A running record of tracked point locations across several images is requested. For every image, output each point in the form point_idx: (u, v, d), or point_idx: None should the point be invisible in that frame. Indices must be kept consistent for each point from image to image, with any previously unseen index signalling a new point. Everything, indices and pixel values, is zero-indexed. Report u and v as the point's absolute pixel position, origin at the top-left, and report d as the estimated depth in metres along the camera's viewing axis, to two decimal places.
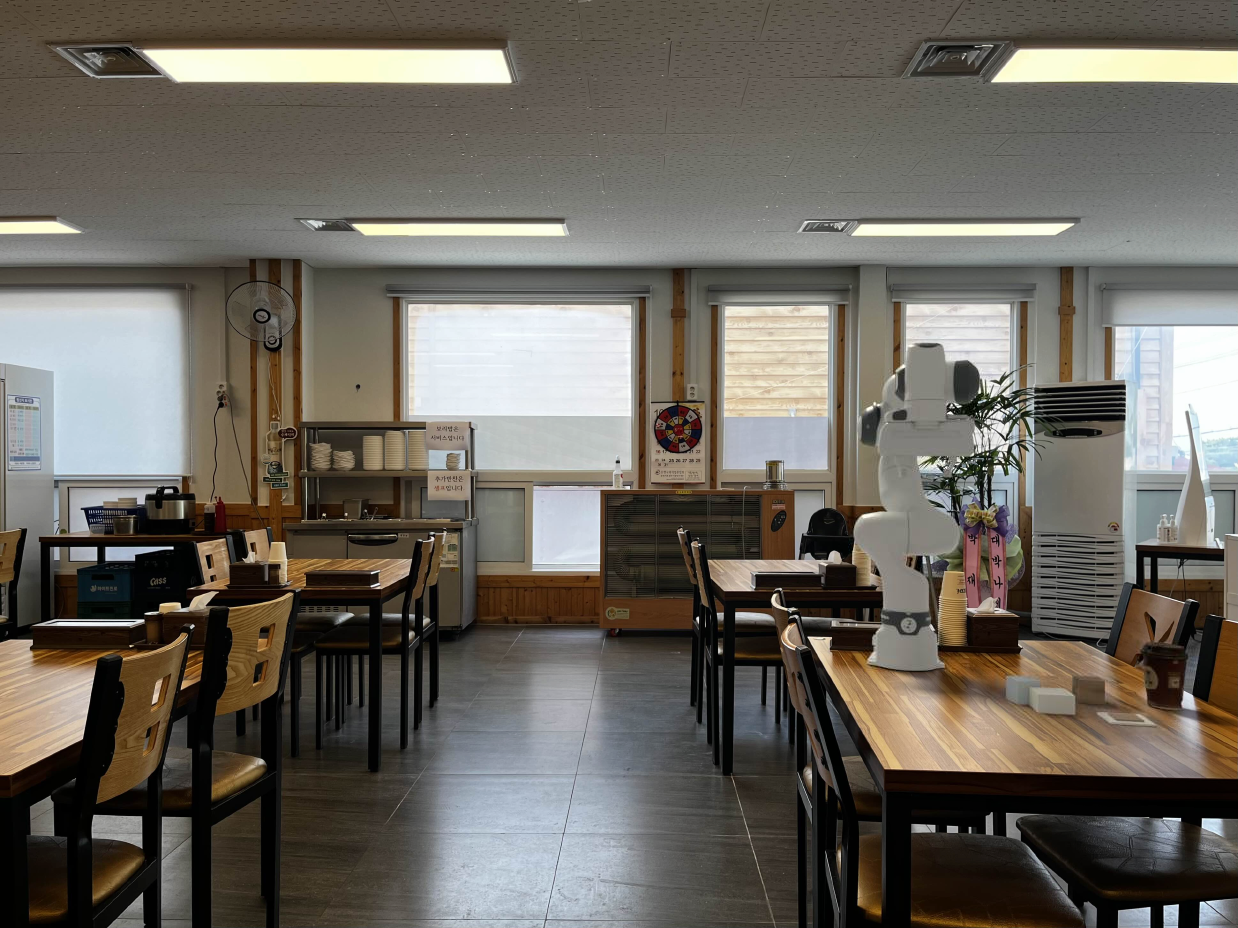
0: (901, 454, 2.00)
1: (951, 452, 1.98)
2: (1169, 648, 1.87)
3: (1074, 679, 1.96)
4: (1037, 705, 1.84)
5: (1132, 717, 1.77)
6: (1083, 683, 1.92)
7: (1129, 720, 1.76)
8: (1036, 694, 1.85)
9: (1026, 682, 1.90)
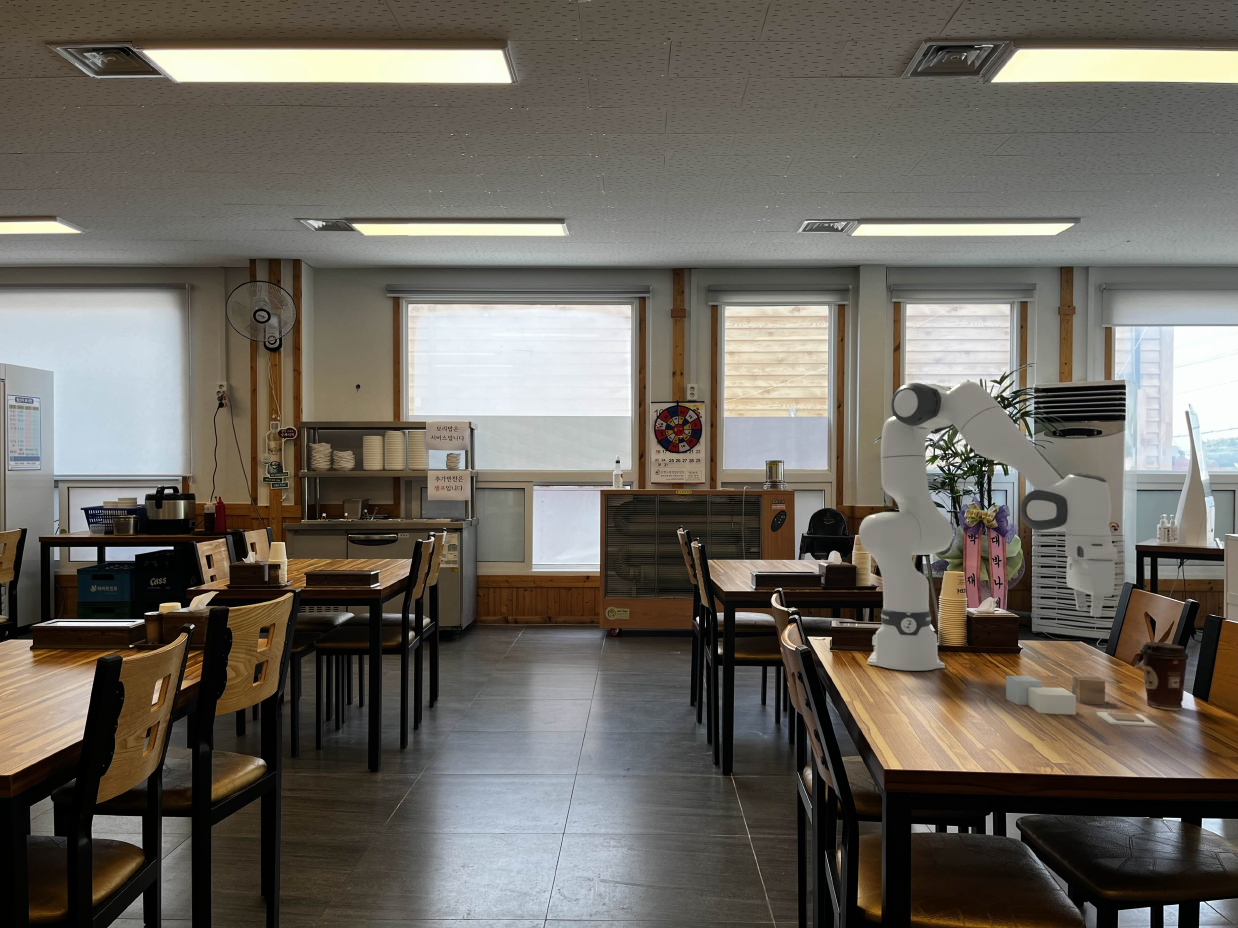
0: None
1: None
2: (1169, 648, 1.87)
3: (1074, 679, 1.96)
4: (1038, 705, 1.84)
5: (1132, 717, 1.77)
6: (1083, 683, 1.92)
7: (1129, 720, 1.76)
8: (1037, 694, 1.84)
9: (1026, 682, 1.90)
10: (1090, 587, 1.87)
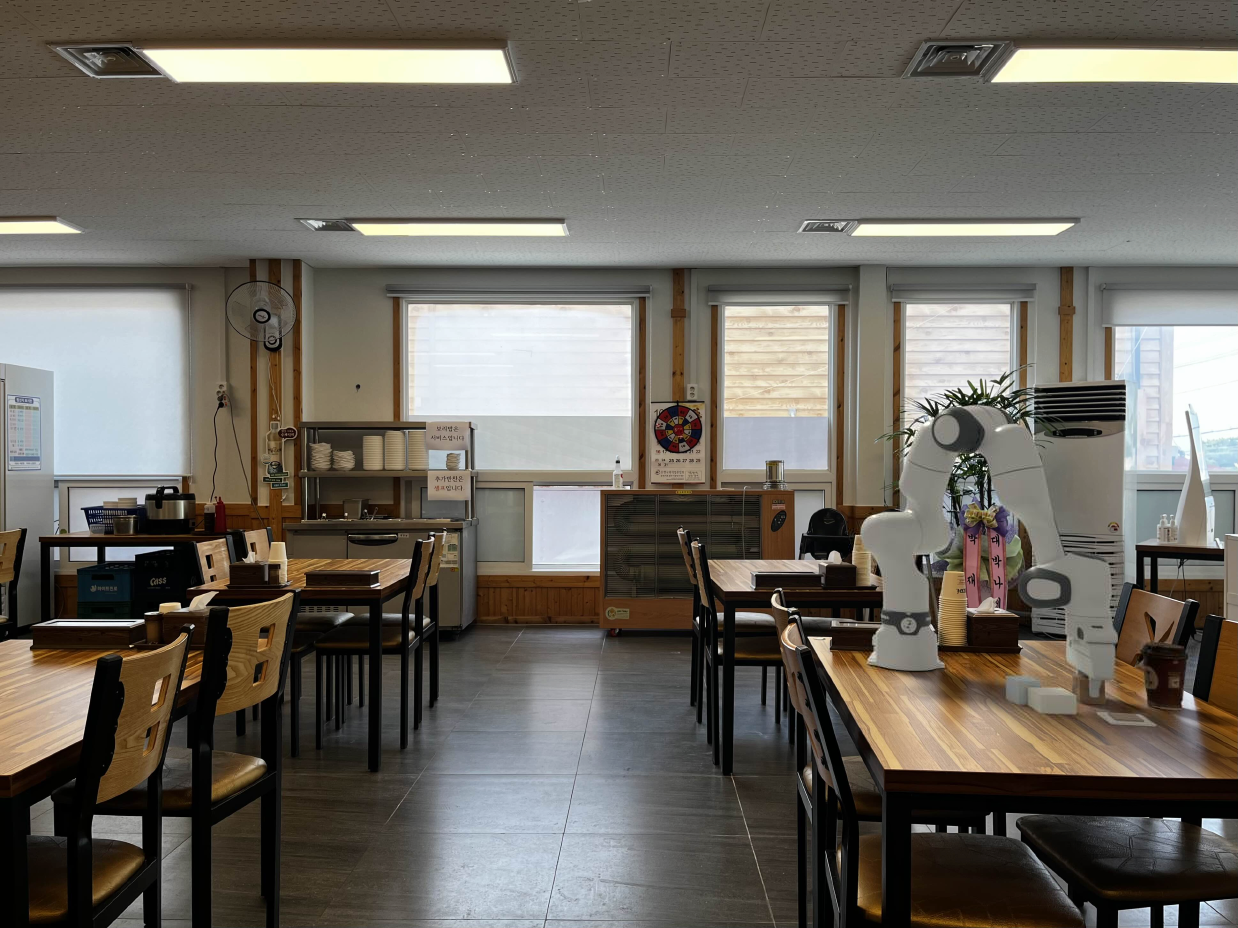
0: None
1: None
2: (1169, 648, 1.87)
3: (1074, 679, 1.96)
4: (1039, 705, 1.83)
5: (1132, 717, 1.77)
6: (1083, 683, 1.92)
7: (1129, 720, 1.76)
8: (1038, 694, 1.84)
9: (1026, 682, 1.90)
10: (1090, 670, 1.87)
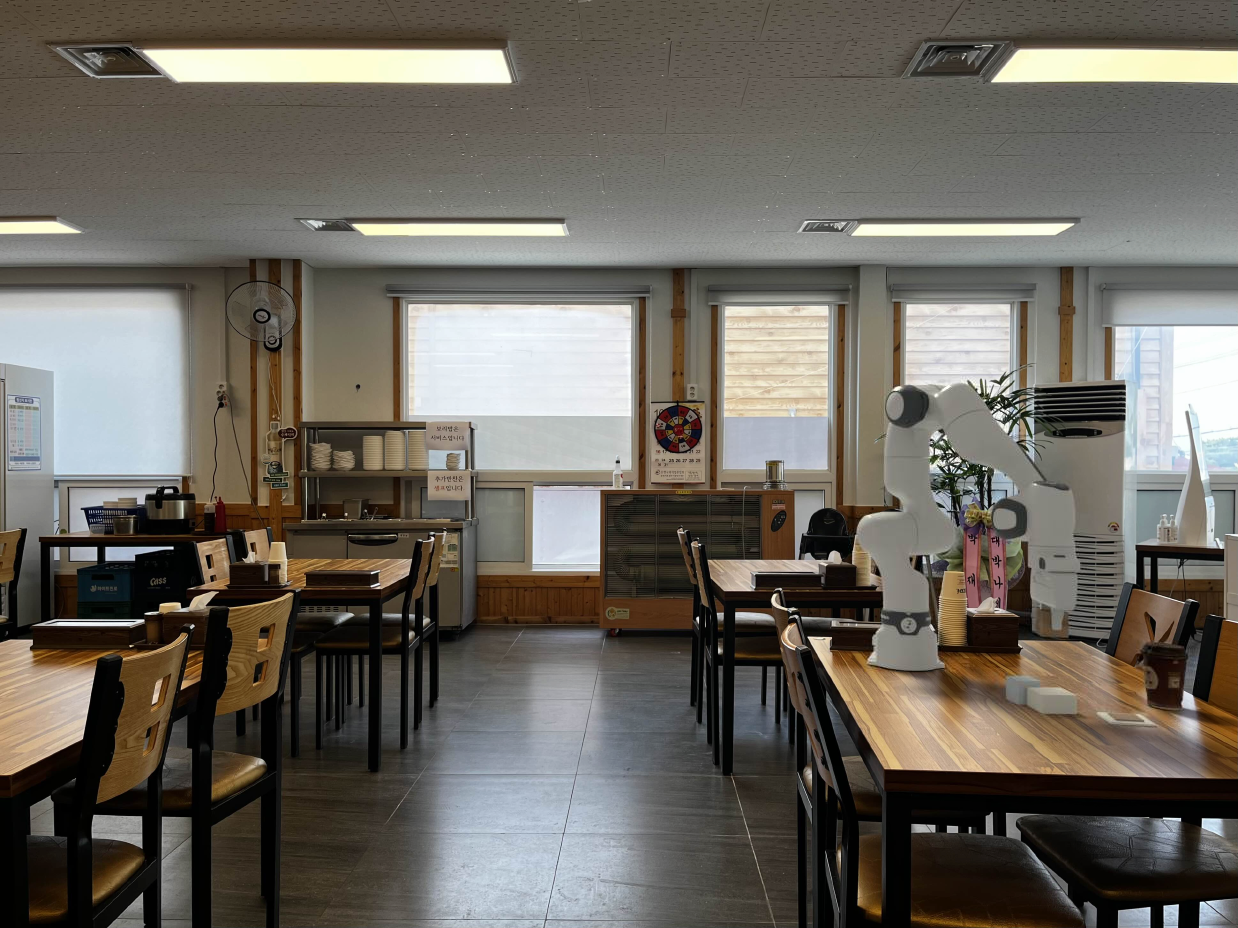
0: None
1: None
2: (1169, 648, 1.87)
3: (1037, 612, 1.88)
4: (1041, 706, 1.83)
5: (1132, 717, 1.77)
6: (1045, 615, 1.85)
7: (1129, 720, 1.76)
8: (1039, 695, 1.84)
9: (1026, 682, 1.90)
10: (1052, 601, 1.80)
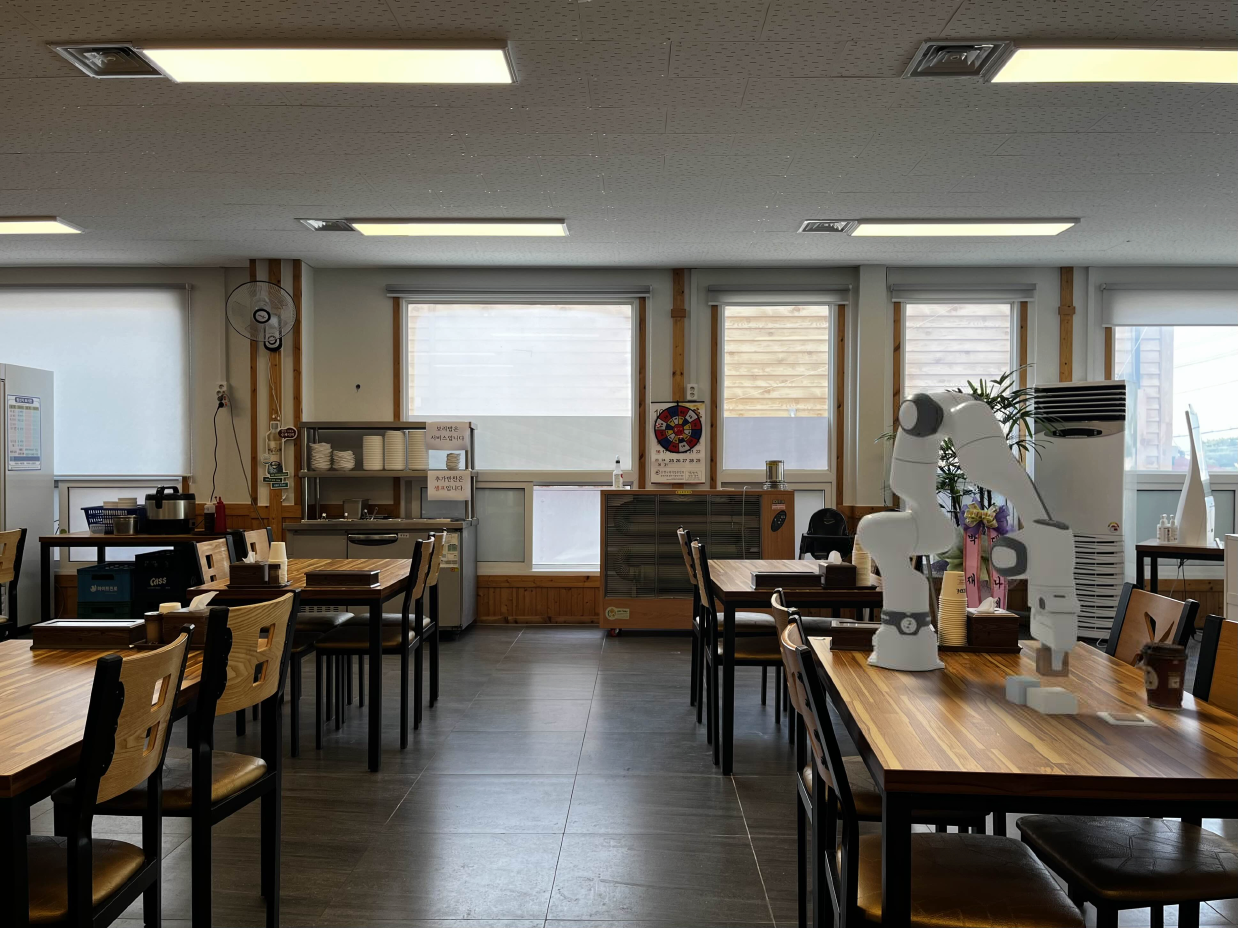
0: None
1: None
2: (1169, 648, 1.87)
3: (1037, 651, 1.88)
4: (1041, 706, 1.83)
5: (1132, 717, 1.77)
6: (1046, 655, 1.84)
7: (1129, 720, 1.76)
8: (1040, 695, 1.84)
9: (1026, 682, 1.90)
10: (1052, 641, 1.79)
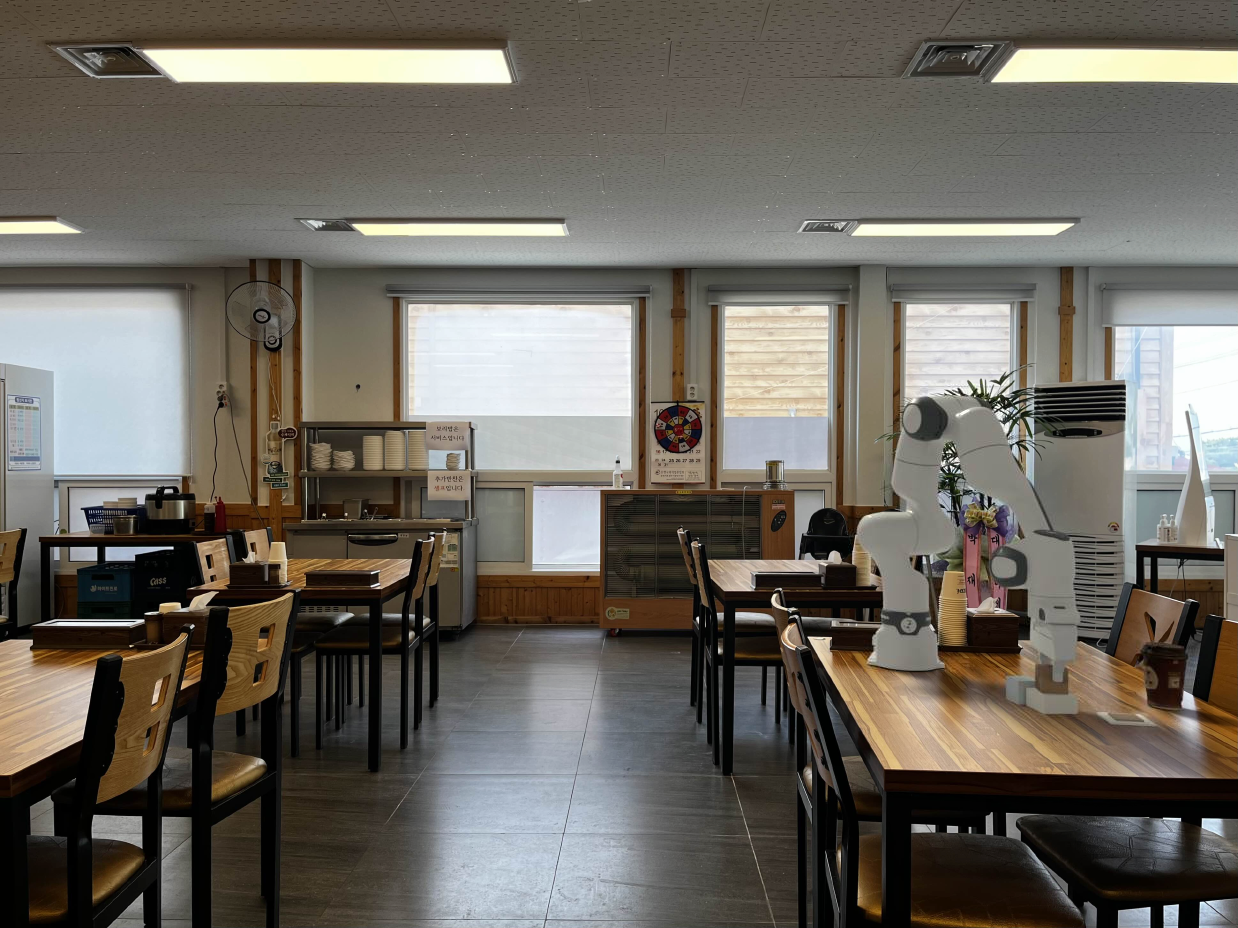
0: None
1: None
2: (1169, 648, 1.87)
3: (1037, 668, 1.88)
4: (1042, 706, 1.83)
5: (1132, 717, 1.77)
6: (1045, 672, 1.84)
7: (1129, 720, 1.76)
8: (1040, 695, 1.84)
9: (1026, 682, 1.90)
10: (1052, 652, 1.79)
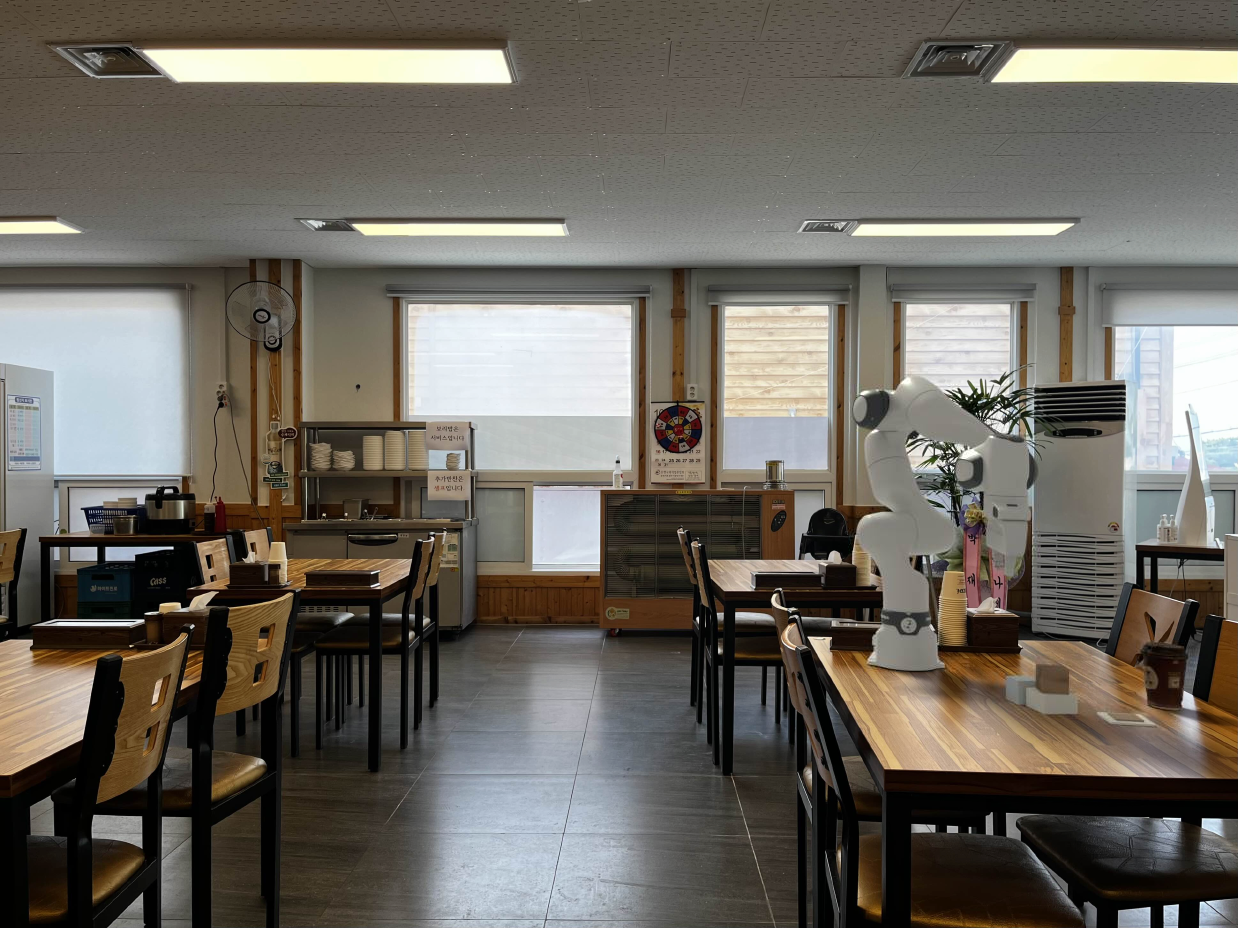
0: None
1: None
2: (1169, 648, 1.87)
3: (1037, 668, 1.88)
4: (1042, 706, 1.83)
5: (1132, 717, 1.77)
6: (1046, 672, 1.84)
7: (1129, 720, 1.76)
8: (1041, 695, 1.83)
9: (1026, 682, 1.90)
10: (1003, 547, 1.89)
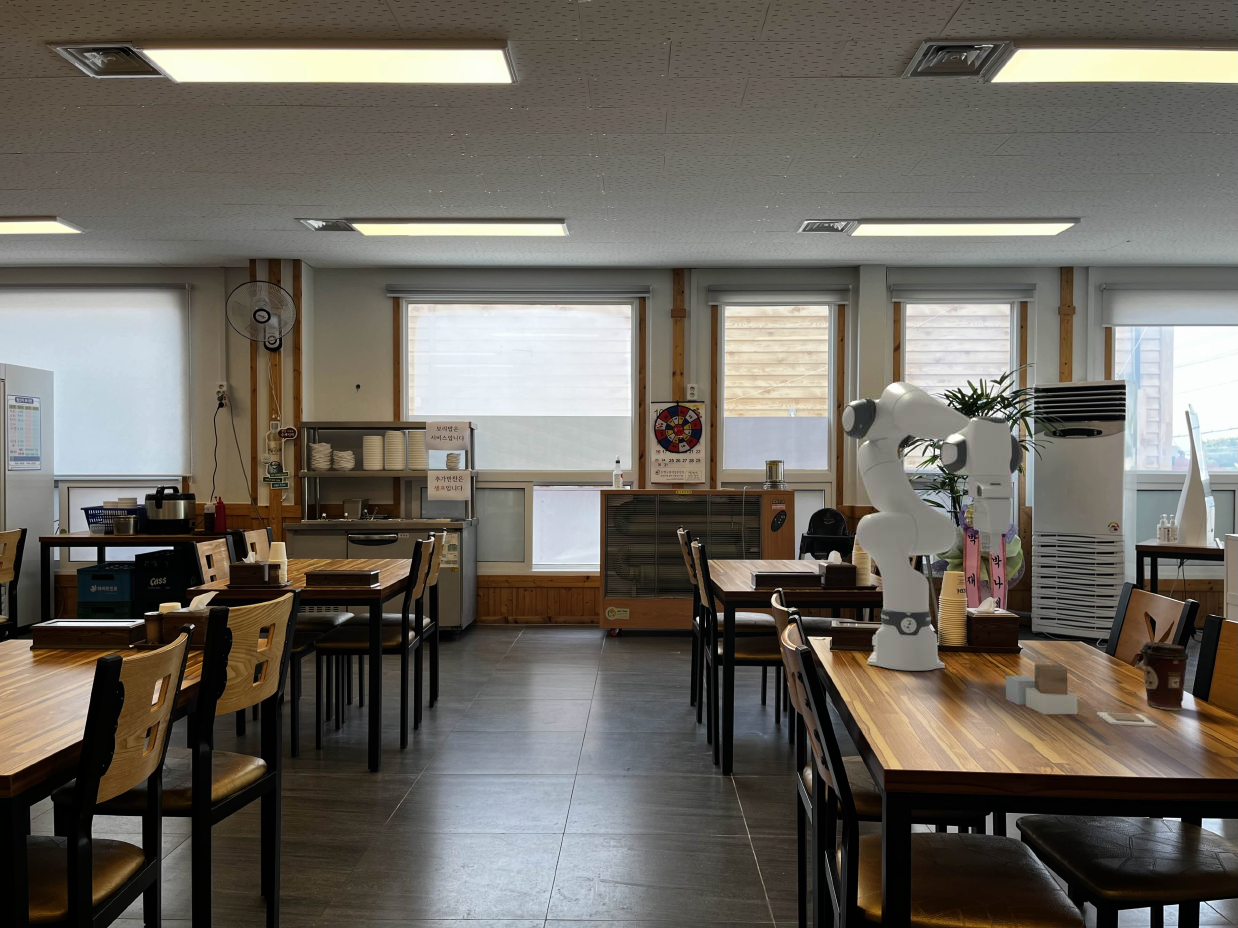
0: None
1: None
2: (1169, 648, 1.87)
3: (1036, 668, 1.88)
4: (1042, 706, 1.83)
5: (1132, 717, 1.77)
6: (1044, 672, 1.84)
7: (1129, 720, 1.76)
8: (1040, 695, 1.83)
9: (1026, 682, 1.90)
10: (988, 525, 1.92)
